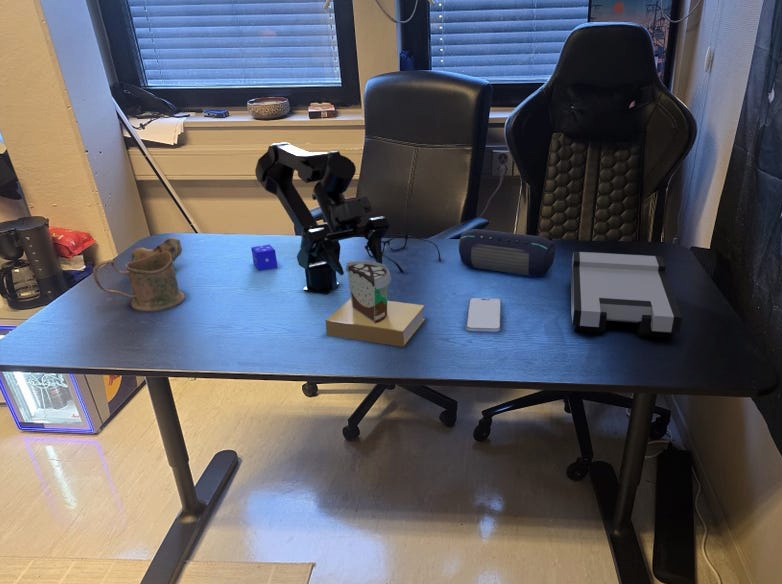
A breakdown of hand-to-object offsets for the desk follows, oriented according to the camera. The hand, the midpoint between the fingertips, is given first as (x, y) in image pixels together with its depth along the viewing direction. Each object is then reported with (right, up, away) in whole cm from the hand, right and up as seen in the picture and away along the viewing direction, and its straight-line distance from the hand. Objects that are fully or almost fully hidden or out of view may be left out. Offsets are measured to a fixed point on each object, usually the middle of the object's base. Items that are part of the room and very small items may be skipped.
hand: (362, 269), depth 132 cm
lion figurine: (-57, +3, +30) cm, 64 cm away
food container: (+3, -9, 0) cm, 10 cm away
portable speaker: (+33, +4, +32) cm, 46 cm away
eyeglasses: (+6, +8, +39) cm, 40 cm away
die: (-30, +6, +34) cm, 46 cm away
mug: (-52, -7, +12) cm, 53 cm away
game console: (+56, -9, +9) cm, 57 cm away
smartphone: (+26, -10, +7) cm, 29 cm away
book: (+3, -12, +2) cm, 12 cm away
